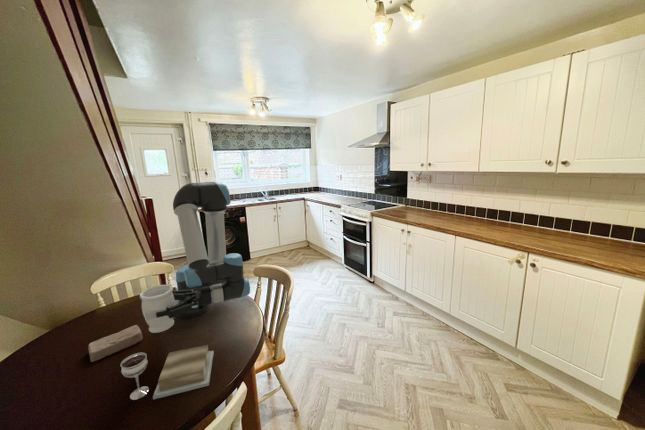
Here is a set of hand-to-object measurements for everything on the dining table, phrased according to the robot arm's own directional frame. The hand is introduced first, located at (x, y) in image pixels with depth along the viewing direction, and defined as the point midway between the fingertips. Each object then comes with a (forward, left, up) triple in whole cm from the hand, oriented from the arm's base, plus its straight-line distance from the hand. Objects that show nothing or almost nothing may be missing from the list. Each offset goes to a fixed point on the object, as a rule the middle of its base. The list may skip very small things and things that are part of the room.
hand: (147, 308), depth 95 cm
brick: (-10, -16, -20) cm, 27 cm away
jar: (-1, +4, -9) cm, 9 cm away
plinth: (+15, +14, -19) cm, 28 cm away
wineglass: (+19, +1, -19) cm, 27 cm away
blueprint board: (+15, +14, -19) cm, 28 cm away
